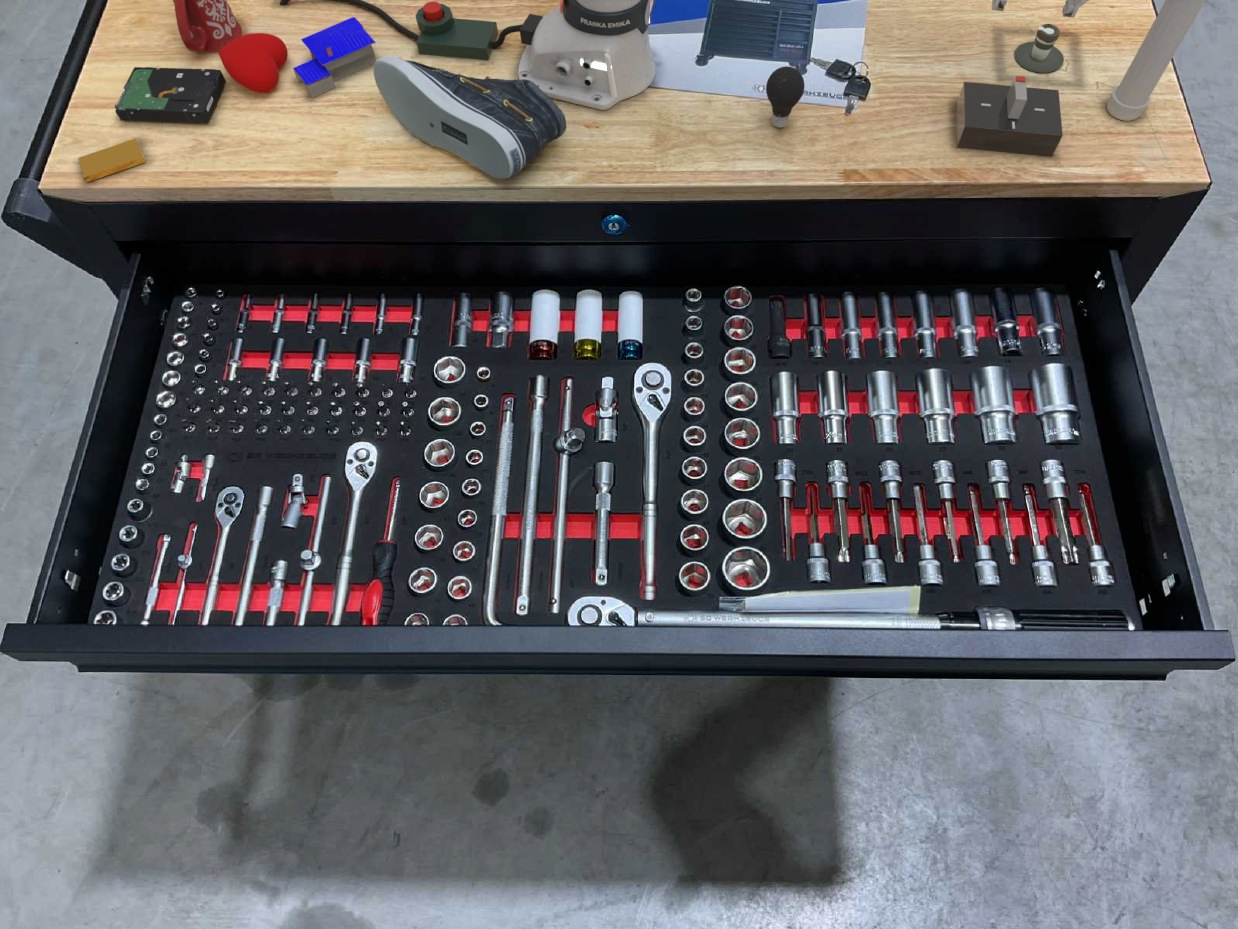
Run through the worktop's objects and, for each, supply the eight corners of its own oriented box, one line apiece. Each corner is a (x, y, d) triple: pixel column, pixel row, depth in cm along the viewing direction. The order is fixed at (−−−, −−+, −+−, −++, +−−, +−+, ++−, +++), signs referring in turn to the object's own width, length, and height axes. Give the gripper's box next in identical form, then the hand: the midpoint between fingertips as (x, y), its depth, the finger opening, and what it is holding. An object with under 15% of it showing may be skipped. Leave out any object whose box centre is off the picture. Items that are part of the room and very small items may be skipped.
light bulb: (795, 140, 138) (805, 85, 129) (758, 136, 138) (766, 80, 129) (799, 115, 140) (809, 59, 131) (763, 111, 141) (771, 55, 132)
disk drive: (228, 82, 148) (141, 79, 149) (221, 68, 146) (132, 65, 146) (210, 126, 143) (120, 122, 144) (203, 111, 141) (111, 108, 141)
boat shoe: (370, 106, 142) (433, 70, 149) (510, 207, 135) (570, 165, 142) (362, 41, 133) (430, 6, 139) (512, 147, 126) (576, 105, 132)
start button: (423, 21, 148) (420, 11, 147) (428, 10, 150) (425, 0, 148) (440, 22, 148) (438, 13, 147) (445, 11, 149) (443, 1, 148)
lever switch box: (956, 147, 136) (965, 125, 132) (956, 103, 141) (964, 80, 137) (1051, 156, 134) (1063, 134, 131) (1048, 111, 139) (1059, 88, 135)
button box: (413, 53, 150) (408, 31, 147) (426, 23, 154) (421, 1, 150) (488, 60, 149) (484, 38, 145) (499, 29, 152) (496, 8, 149)
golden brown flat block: (82, 163, 140) (88, 183, 137) (78, 157, 139) (84, 177, 136) (139, 143, 141) (146, 162, 139) (135, 138, 140) (142, 157, 138)
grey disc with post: (1078, 84, 142) (1092, 56, 137) (1000, 77, 143) (1011, 50, 139) (1073, 35, 147) (1086, 8, 143) (998, 29, 149) (1009, 1, 144)
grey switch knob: (1018, 119, 133) (1027, 98, 129) (1007, 118, 133) (1016, 97, 130) (1017, 96, 135) (1026, 75, 132) (1006, 95, 135) (1015, 74, 132)
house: (283, 61, 150) (270, 31, 145) (358, 29, 154) (349, -2, 149) (311, 98, 145) (300, 68, 140) (389, 63, 149) (380, 33, 144)
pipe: (1140, 125, 137) (1257, -71, 111) (1098, 116, 138) (1204, -80, 112) (1143, 102, 139) (1259, -96, 113) (1101, 93, 141) (1206, -105, 114)
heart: (226, 14, 145) (290, 30, 147) (231, 42, 150) (292, 57, 152) (205, 61, 140) (271, 77, 141) (210, 89, 144) (274, 104, 146)
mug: (217, -58, 144) (249, 20, 156) (163, -60, 145) (198, 17, 156) (192, -10, 138) (227, 67, 150) (135, -12, 138) (174, 65, 150)
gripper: (990, -85, 110) (955, 18, 122) (1163, -70, 108) (1110, 33, 120) (989, -114, 113) (954, -11, 125) (1157, -100, 111) (1106, 3, 123)
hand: (1032, 11), depth 123 cm, fingers open, 8 cm apart
